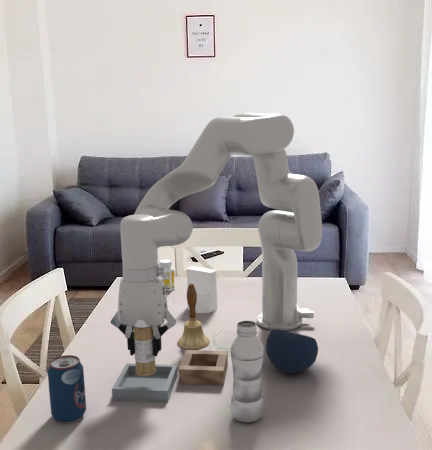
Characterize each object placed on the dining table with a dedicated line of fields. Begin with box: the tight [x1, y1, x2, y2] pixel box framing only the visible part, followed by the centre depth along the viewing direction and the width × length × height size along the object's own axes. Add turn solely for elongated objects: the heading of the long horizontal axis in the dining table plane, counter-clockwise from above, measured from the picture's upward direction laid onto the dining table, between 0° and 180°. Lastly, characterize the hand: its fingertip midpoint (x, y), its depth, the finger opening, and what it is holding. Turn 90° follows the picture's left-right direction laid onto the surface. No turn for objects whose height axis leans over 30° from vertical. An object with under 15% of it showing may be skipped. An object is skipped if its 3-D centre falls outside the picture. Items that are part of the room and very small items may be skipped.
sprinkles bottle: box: [133, 320, 156, 377], centre depth 131 cm, size 5×5×14 cm
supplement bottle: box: [158, 258, 175, 292], centre depth 196 cm, size 5×5×10 cm
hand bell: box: [177, 284, 210, 350], centre depth 154 cm, size 8×8×16 cm
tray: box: [111, 362, 179, 403], centre depth 133 cm, size 12×12×2 cm
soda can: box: [47, 354, 87, 424], centre depth 120 cm, size 7×7×12 cm
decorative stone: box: [265, 329, 319, 375], centre depth 138 cm, size 12×12×10 cm
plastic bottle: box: [229, 320, 265, 424], centre depth 117 cm, size 6×7×20 cm
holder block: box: [178, 349, 229, 386], centre depth 138 cm, size 10×10×4 cm
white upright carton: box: [186, 265, 218, 314], centre depth 178 cm, size 9×9×12 cm
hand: (144, 352), depth 131 cm, fingers closed on sprinkles bottle, 4 cm apart
